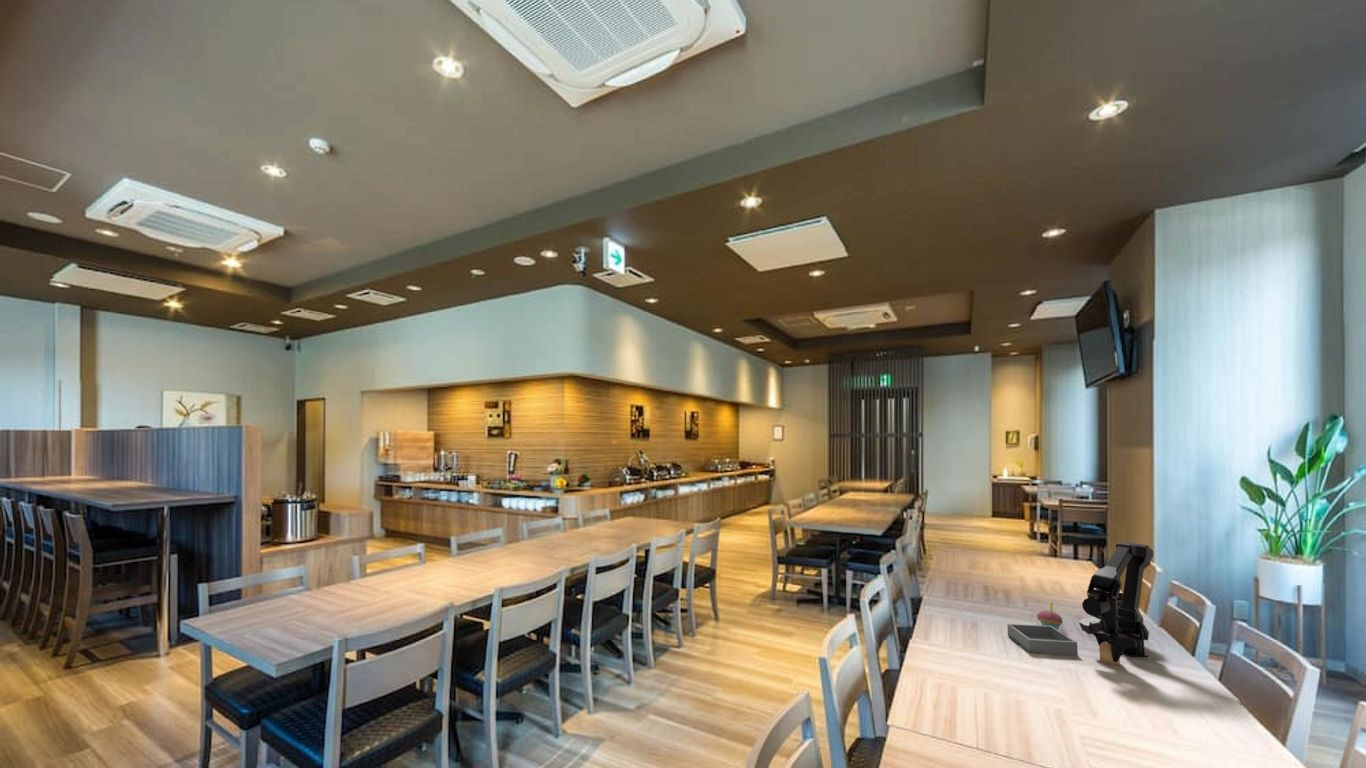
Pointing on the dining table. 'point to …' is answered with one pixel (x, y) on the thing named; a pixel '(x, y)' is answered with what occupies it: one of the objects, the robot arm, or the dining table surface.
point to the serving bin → (1042, 639)
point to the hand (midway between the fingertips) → (1109, 658)
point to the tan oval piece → (1107, 654)
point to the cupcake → (1049, 618)
